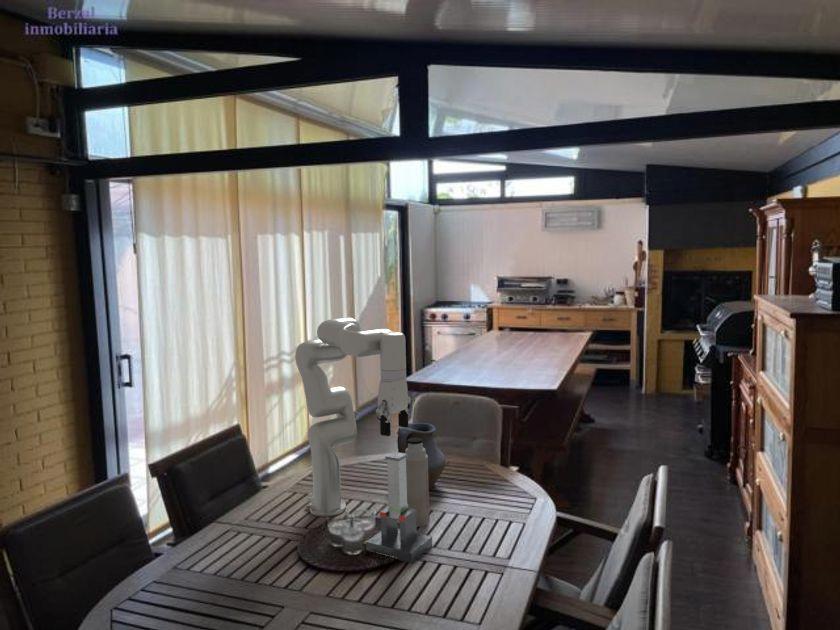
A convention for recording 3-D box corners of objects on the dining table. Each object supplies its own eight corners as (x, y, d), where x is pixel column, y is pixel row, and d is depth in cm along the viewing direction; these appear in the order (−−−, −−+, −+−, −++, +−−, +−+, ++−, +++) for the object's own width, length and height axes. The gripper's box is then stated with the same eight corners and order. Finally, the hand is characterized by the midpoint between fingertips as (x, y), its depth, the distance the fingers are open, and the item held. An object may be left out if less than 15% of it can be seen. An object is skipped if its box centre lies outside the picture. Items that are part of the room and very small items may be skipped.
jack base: (366, 551, 189) (364, 512, 188) (388, 535, 199) (387, 498, 198) (411, 563, 181) (410, 523, 180) (432, 546, 191) (431, 508, 190)
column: (387, 517, 188) (385, 456, 186) (396, 511, 192) (394, 451, 190) (400, 520, 186) (398, 458, 184) (409, 514, 190) (407, 453, 188)
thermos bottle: (431, 517, 212) (429, 436, 209) (427, 527, 204) (424, 443, 201) (408, 515, 213) (405, 435, 211) (403, 525, 206) (400, 442, 203)
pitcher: (456, 483, 242) (455, 419, 240) (426, 502, 224) (424, 434, 222) (411, 474, 253) (409, 413, 251) (379, 492, 235) (377, 427, 233)
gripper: (398, 368, 194) (399, 422, 196) (365, 378, 179) (367, 437, 181) (419, 370, 190) (420, 425, 192) (387, 381, 175) (389, 440, 177)
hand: (394, 430), depth 187 cm, fingers open, 9 cm apart
